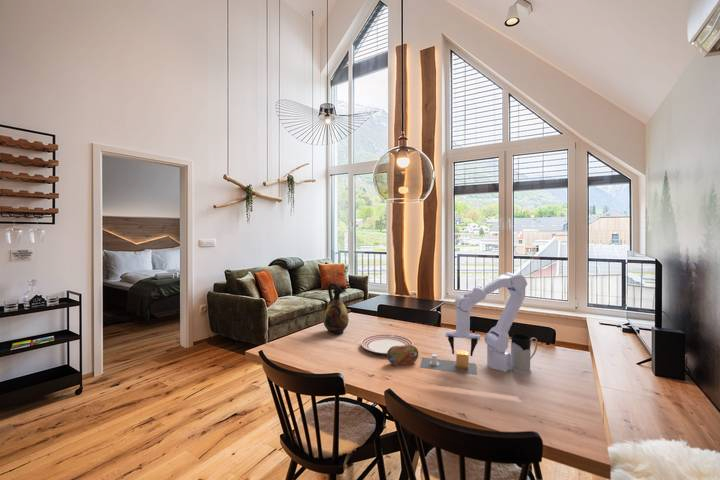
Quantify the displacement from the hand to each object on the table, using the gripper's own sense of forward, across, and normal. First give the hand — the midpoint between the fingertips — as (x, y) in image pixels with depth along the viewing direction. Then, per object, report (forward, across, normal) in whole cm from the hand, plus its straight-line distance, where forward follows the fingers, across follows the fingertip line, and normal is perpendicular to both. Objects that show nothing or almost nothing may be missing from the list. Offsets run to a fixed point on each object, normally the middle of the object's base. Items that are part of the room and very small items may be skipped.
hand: (462, 354), depth 142 cm
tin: (+8, -26, 0) cm, 28 cm away
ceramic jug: (+8, -73, +34) cm, 81 cm away
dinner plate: (+8, -37, +18) cm, 42 cm away
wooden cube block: (+6, 0, 0) cm, 6 cm away
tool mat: (+7, -6, 0) cm, 9 cm away
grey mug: (+7, +27, +10) cm, 30 cm away
